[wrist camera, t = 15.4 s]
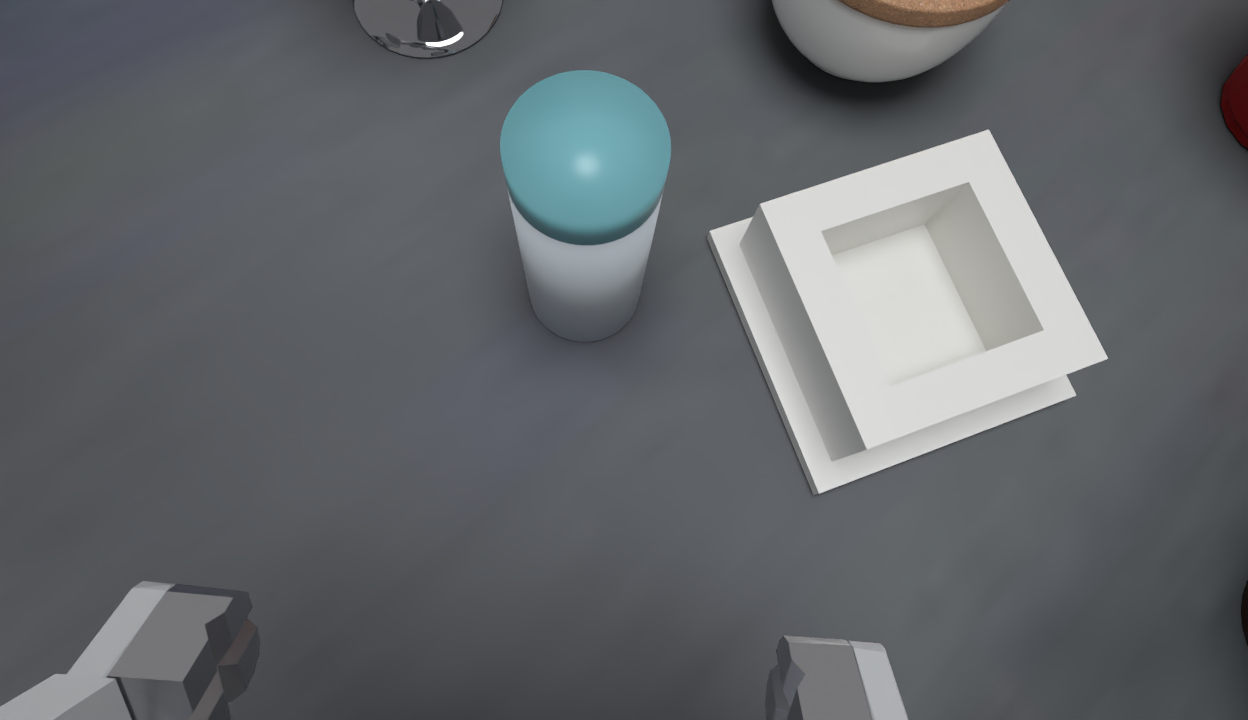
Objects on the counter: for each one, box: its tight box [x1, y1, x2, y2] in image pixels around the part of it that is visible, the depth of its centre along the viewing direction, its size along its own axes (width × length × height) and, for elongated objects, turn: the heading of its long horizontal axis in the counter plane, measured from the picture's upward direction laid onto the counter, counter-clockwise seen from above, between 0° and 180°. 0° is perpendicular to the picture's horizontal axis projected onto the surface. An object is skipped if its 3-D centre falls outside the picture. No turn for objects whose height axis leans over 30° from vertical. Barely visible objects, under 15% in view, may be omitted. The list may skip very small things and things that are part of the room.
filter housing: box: [707, 130, 1108, 495], centre depth 31 cm, size 12×12×5 cm
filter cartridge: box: [500, 70, 671, 342], centre depth 27 cm, size 5×5×12 cm
